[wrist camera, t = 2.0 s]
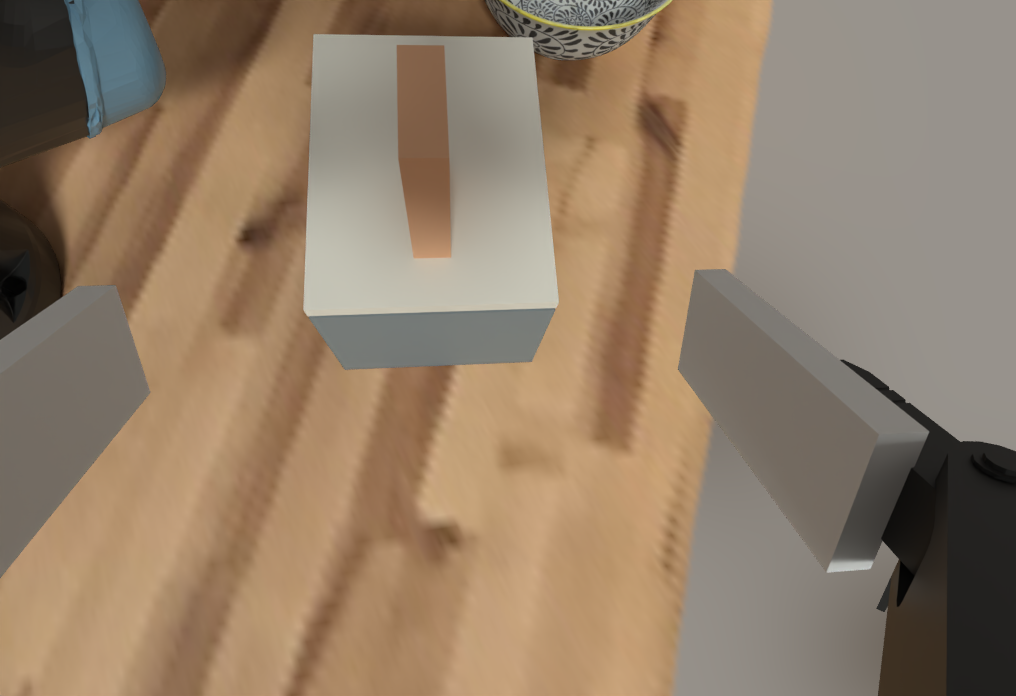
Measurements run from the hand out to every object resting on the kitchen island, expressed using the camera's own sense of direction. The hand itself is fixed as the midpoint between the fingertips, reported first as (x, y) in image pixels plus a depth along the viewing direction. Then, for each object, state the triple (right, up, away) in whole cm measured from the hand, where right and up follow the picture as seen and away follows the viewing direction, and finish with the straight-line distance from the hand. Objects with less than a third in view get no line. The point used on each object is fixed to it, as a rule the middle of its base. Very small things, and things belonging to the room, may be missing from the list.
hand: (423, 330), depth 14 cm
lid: (-2, +9, +17) cm, 19 cm away
